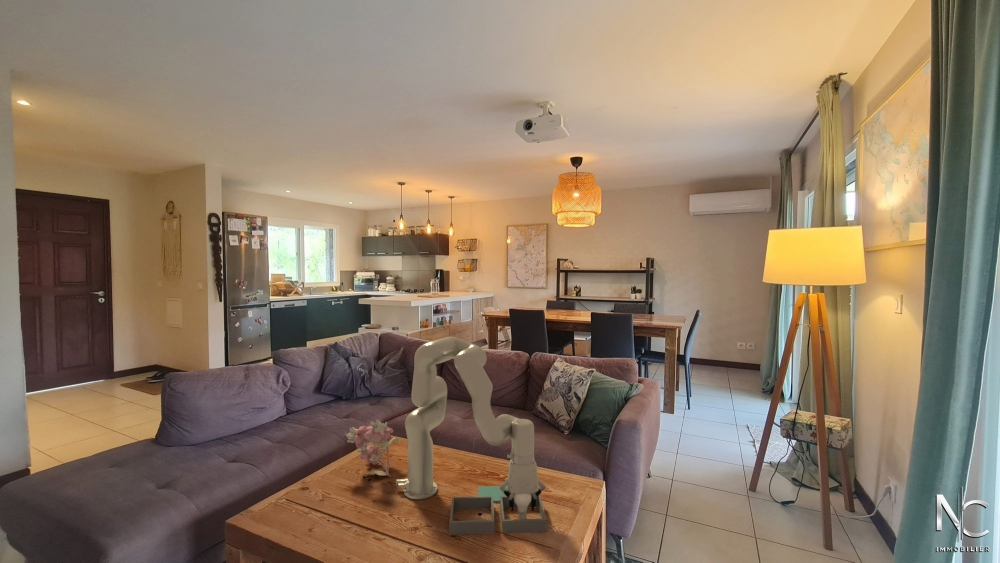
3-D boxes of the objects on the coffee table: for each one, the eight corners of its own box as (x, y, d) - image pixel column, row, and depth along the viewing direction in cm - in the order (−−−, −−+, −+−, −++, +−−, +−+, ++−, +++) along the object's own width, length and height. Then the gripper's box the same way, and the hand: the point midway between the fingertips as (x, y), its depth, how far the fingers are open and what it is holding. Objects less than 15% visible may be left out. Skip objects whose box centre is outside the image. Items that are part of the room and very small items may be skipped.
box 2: (502, 533, 133) (502, 521, 133) (500, 506, 147) (500, 495, 147) (546, 531, 134) (546, 519, 134) (540, 505, 148) (540, 495, 148)
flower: (418, 456, 183) (396, 403, 185) (401, 476, 160) (376, 417, 163) (378, 474, 184) (356, 421, 186) (356, 497, 162) (331, 437, 164)
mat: (478, 502, 150) (478, 501, 150) (478, 487, 160) (478, 486, 160) (511, 502, 150) (511, 500, 150) (509, 487, 160) (509, 485, 160)
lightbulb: (511, 513, 144) (512, 482, 143) (530, 512, 144) (530, 482, 144) (514, 525, 137) (514, 492, 137) (533, 524, 138) (533, 492, 137)
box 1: (449, 534, 132) (449, 522, 132) (452, 508, 147) (452, 497, 146) (494, 533, 133) (494, 521, 133) (492, 507, 147) (492, 496, 147)
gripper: (497, 463, 136) (497, 516, 136) (549, 461, 136) (549, 514, 137) (496, 452, 143) (496, 503, 144) (546, 451, 144) (545, 501, 145)
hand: (522, 508), depth 141 cm, fingers closed on lightbulb, 6 cm apart
